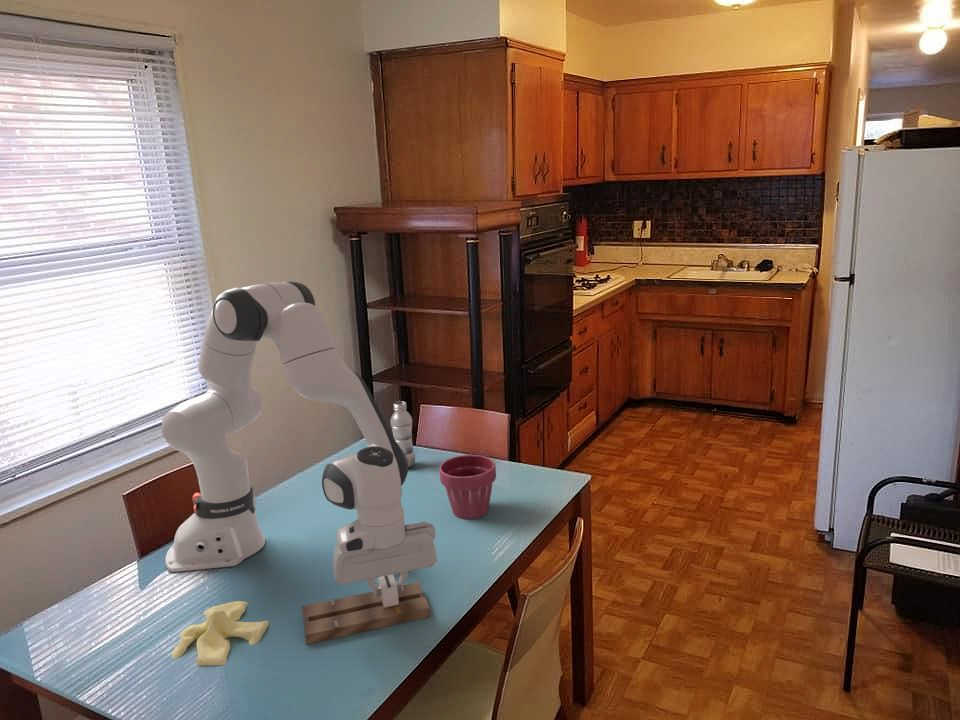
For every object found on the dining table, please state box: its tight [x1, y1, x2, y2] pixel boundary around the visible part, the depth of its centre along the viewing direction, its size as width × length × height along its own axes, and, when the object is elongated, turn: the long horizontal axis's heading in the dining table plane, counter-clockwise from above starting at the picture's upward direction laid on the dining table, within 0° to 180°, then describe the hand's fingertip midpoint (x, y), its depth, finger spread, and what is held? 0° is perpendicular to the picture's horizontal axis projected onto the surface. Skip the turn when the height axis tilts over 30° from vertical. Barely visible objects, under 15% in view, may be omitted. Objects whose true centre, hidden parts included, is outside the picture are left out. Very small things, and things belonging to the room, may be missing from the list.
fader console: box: [301, 581, 431, 645], centre depth 144 cm, size 24×10×2 cm, turn 107°
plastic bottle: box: [390, 400, 416, 469], centre depth 215 cm, size 6×7×20 cm
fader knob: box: [377, 574, 399, 607], centre depth 145 cm, size 3×5×6 cm, turn 17°
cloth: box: [170, 600, 270, 666], centre depth 140 cm, size 22×19×6 cm
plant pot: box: [439, 454, 497, 520], centre depth 185 cm, size 14×14×13 cm
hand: (388, 592), depth 145 cm, fingers closed on fader knob, 3 cm apart
